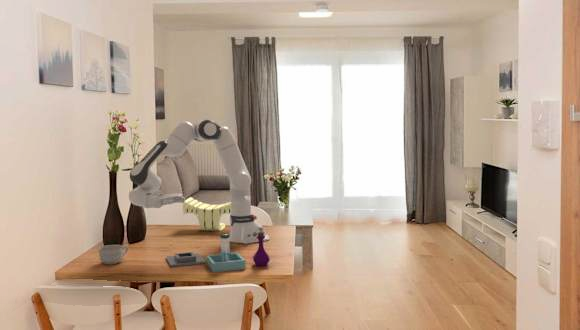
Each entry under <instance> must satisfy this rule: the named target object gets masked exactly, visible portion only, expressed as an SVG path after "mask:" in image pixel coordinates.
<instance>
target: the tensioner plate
mask: <svg viewBox="0 0 580 330" xmlns="http://www.w3.org/2000/svg"><path fill="white" fill-rule="evenodd" d="M165 259H166V261H167V263H168V265H169V266H171V267H170V268H176V267H175V266H177V267H184V266H185V267H186V266H193V265H194V266H196V265H205V264H206V260H204V258H203V256H201V254H200V253H194V251H188V252H178V253H177V252H176V253H174V254H173V255H170V256H168V255H167V256H165Z"/></svg>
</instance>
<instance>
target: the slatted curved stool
mask: <svg viewBox="0 0 580 330" xmlns="http://www.w3.org/2000/svg"><path fill="white" fill-rule="evenodd" d="M182 211H183V215H185V214H193V215H195V216H197V220H198V223H199V231H218V232H219V231H220V232H221V231H222V230H224V228H226V227H225V226H226V224H225V222H224V223H223V222H220V221H221V217H222V216H223V215H225V214H228V215H229V214H230V215H231V201H229V202H226V203H223V204H222V203H221V204H210V203H206V202H205V203H203V202H202V201H199V200H197V199H194V197H191V196H190V197H188V198H187V199H185V201H183V204H182Z"/></svg>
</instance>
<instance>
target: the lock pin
mask: <svg viewBox="0 0 580 330" xmlns="http://www.w3.org/2000/svg"><path fill="white" fill-rule="evenodd" d="M219 237H220V254H221V262H226V261H230V253H231V252H230V250H231V249H230V241H229V237H230V233H227V232H223V233H220V234H219Z"/></svg>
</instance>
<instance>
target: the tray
mask: <svg viewBox="0 0 580 330" xmlns="http://www.w3.org/2000/svg"><path fill="white" fill-rule="evenodd" d="M205 258H206V260H205V264H206V266H207V267H208V268H209V269H210V270H211V272H212V273H219V272H220V273H221V272H227V271H228V272H230V271H238V270H246V268H247V267H246V259H244V257H242V255H240V253H239V252H230V261H226V262H221V253H218V254H208V255H206V256H205Z"/></svg>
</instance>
